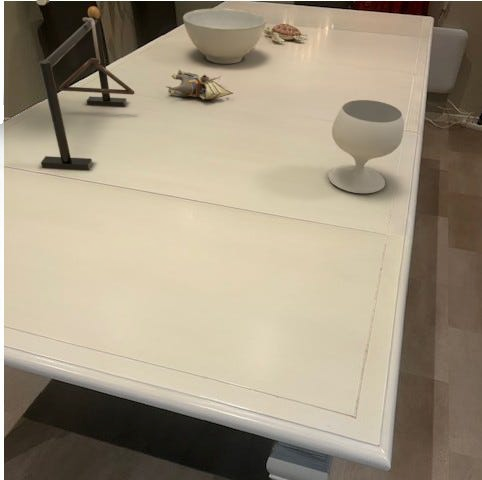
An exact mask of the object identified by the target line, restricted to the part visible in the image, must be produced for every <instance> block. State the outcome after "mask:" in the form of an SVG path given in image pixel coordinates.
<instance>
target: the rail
mask: <svg viewBox="0 0 482 480" xmlns="http://www.w3.org/2000/svg"><path fill="white" fill-rule="evenodd" d="M92 19H93V20H94V22H95V25H96V24H97V22H98V20H97V19H96V18H94V17H92ZM90 31H92V26H91V22H85V23H83V25H82V26H81V27H79V28H78V29H77V30H76V31H75V32H74V33H73V34H72V35H71V36H69V38H67V39H66V40H65V41H64V42H63V43H62V44H61V45H60V46H59V47H58V48H56V49H55V50H54V51H53V52H52V53H51V54H50V55H48V57H47V58H45V59H44V60H39V62H38V64H39V68H40V72H41V77H42V82H43V86H44V90H45V94H46V99H47V104H48V107H49V112H50V116H51V121H52V125H53V129H54V134H55V138H56V144H57V147H58V151H59V156H51V155H50V156H48V155H45V156H44V158H43V159H42V160H41V161H40V164H41V168H43V169H60V170H61V169H62V170H76V171H77V170H78V171H79V170H80V171H89V170H90V169H91V168H92V165H93V159H92V158H89V157H88V158H87V157H86V158H85V157H72V156H71V152H70V147H69V143H68V138H67V134H66V133H67V132H66V129H65V123H64V119H63V114H62V110H61V106H60V105H61V104H60V100H59V95H58V92H57V86H56V83H55V82H56V81H55V77H54V72H53V67H54V66H55V65H56V64H57V63H58V62H59V61H60V60H61V59H62V58H63V57H64V56H66V54H67V53H68V52H69V51H71V49H72V48H73V47H74V46H76V44H77V43H78V42H80V41H81V40H82V38H84V37H85V36H86V35H87V33H89V32H90Z"/></svg>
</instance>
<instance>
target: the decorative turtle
mask: <svg viewBox="0 0 482 480" xmlns="http://www.w3.org/2000/svg"><path fill="white" fill-rule="evenodd" d="M263 33H264V34H265V35H267V36H271V39H272V40H273V41H274V42H277V43H283V42H285V40H297V41H306V38H305V37H307V36H308V33H304V32H301V31H300V29H298V28H297V27H295V26H293V25H292V24H288V23H280V24H277V25H274V26H273V27H265V28H264V30H263Z"/></svg>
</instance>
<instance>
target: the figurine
mask: <svg viewBox="0 0 482 480" xmlns="http://www.w3.org/2000/svg"><path fill="white" fill-rule="evenodd" d="M222 77H223V75H220V76H216V77H211V78H210V76H207V74H203V75H201V76H199V75H198V74H196V73H191V72H186V71H185V70H180V69H178V72H176V73H173V74H171V78H172V79H173V80H176V81H177V80H179V81H181V82H180V83H179V85H178V86H175V87H172V86H165V88H167V89H168V91H167V93H168V94H171V95H172V96H174V95H176V96H178V97H182V98H186V97H192V98H195V97H196V98H197V97H198V98H200V99H202V100H204V101H205V100H209V101H211V100H215V99H219V98H222V97H226V96H229V95H234V92H232V91H230V90H228V89H226V88H224V87H222V86H223V85H222V84H220V83H217V82H216V80H218V81H220V80H221V78H222Z"/></svg>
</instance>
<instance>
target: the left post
mask: <svg viewBox="0 0 482 480" xmlns="http://www.w3.org/2000/svg"><path fill="white" fill-rule="evenodd" d="M87 15H88V18H92V17H94V18H96V19H97V20H98V22H97V24H96V25H95V29H96V36H97V43H98V49H99V56H100V64H101V65H102V66H103V67H104V68H106V69H107V65H106V59H105V52H104V44H103V37H102V29H101V24H100V23H101V22H100V16H101V12H100V10H99V8H98V7H96V6H95V5H93V6H90V7H88V9H87ZM97 71H98V78H99V84H100V88H101V89H110V86H109V80H108V75H106V74H105V73H104V72H103V71H101V70H100V69H99V68H98V67H97ZM127 103H128V102H127V98H126V97H111V93H101V96H89V97H87V99H86V104H87V106H101V107H121V108H125V107H126V105H127Z"/></svg>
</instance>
